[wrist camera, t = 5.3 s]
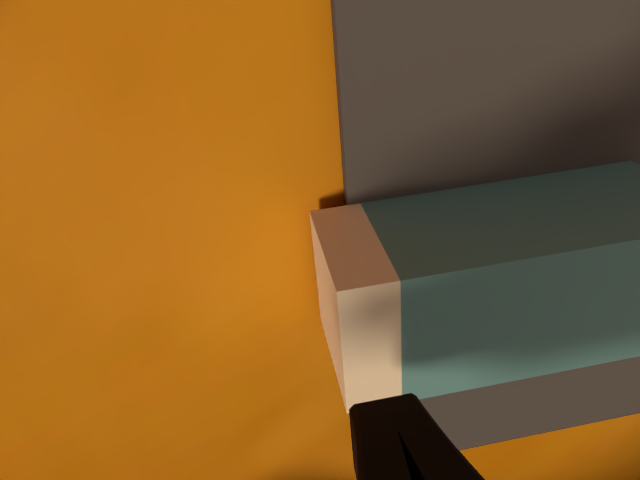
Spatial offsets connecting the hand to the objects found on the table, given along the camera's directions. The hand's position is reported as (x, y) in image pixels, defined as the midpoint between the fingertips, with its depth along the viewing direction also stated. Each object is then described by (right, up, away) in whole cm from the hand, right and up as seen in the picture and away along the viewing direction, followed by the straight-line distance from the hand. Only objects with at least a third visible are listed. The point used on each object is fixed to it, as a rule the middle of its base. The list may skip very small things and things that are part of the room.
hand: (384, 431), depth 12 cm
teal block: (-1, +2, +4) cm, 4 cm away
